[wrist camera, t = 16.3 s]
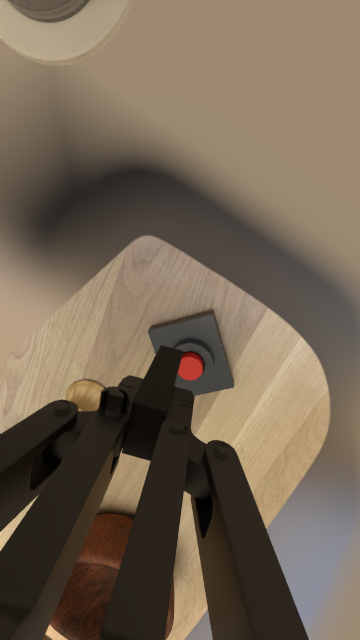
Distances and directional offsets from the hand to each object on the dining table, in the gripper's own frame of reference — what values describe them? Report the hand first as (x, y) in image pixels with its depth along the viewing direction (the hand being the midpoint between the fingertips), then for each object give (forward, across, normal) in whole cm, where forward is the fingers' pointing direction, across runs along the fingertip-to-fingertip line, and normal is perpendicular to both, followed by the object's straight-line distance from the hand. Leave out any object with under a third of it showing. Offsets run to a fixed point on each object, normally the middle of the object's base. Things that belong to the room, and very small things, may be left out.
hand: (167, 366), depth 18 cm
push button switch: (+24, +2, -9) cm, 26 cm away
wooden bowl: (+25, -2, -56) cm, 61 cm away
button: (+21, +2, -9) cm, 23 cm away
